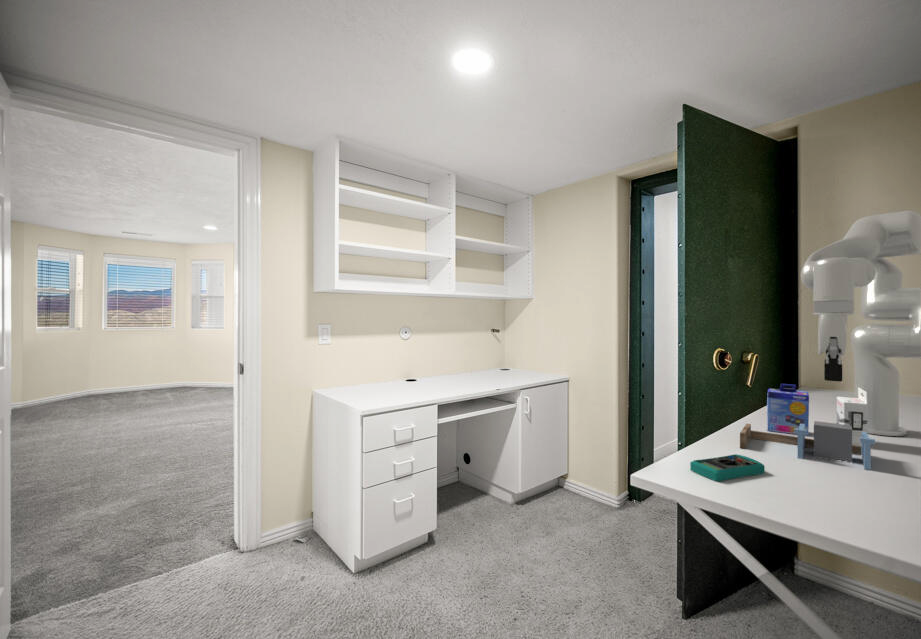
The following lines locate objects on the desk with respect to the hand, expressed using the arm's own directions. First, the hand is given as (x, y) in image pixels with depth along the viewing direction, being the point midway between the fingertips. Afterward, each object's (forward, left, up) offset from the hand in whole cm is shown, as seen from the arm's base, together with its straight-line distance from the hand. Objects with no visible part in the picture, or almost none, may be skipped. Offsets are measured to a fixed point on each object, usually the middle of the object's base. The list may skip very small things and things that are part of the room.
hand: (833, 377), depth 105 cm
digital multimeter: (+27, -18, -20) cm, 38 cm away
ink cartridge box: (-20, -10, -20) cm, 30 cm away
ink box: (-18, +4, -20) cm, 27 cm away
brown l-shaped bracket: (0, -6, -20) cm, 21 cm away
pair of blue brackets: (0, 0, -20) cm, 20 cm away
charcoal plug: (0, 0, -20) cm, 20 cm away
